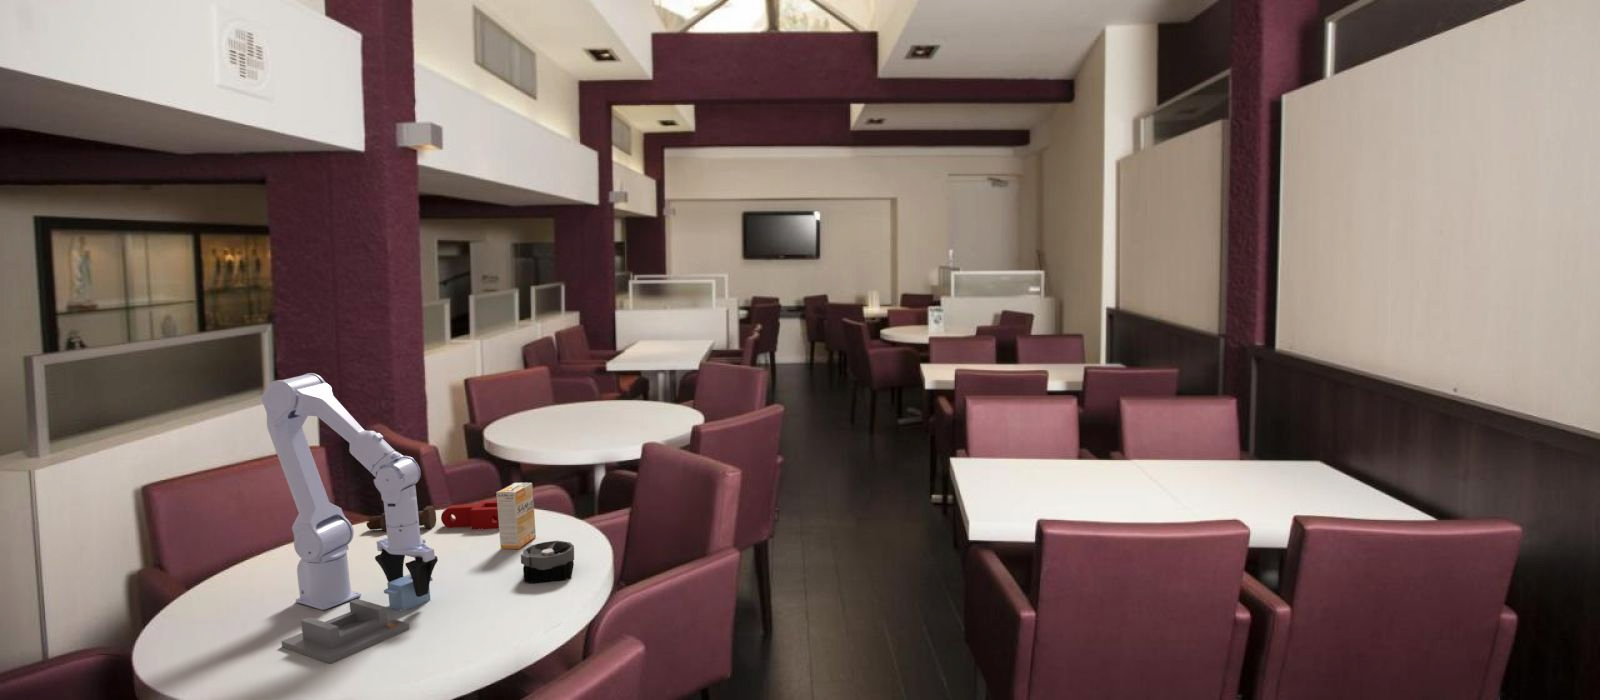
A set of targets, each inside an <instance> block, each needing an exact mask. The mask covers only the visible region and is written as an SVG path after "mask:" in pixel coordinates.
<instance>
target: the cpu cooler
mask: <svg viewBox="0 0 1600 700" xmlns="http://www.w3.org/2000/svg"><path fill="white" fill-rule="evenodd" d="M522 552H523V553H522V554H520V564H522V565H523V568H522V571H523V582H525V583H528V584H536V582H537V584H538V583H541V582H542V583H549V582H552V581H553V582H560V581H565V580H567V579H572V576H573V570H574V567H573V566H575V564H574V562H575V546H574V544H573V543H572V542H569V541H563V540H552V541H543V542H539V543H536V544H530V545H529V546H527V547H526V548H525V549H523V550H522ZM566 578H567V579H566ZM551 580H552V581H551Z"/></svg>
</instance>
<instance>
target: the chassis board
mask: <svg viewBox="0 0 1600 700" xmlns="http://www.w3.org/2000/svg"><path fill="white" fill-rule="evenodd" d="M348 603H349V610H350V611H348V612H347V613H343V614H340V615H339V616H336V617H333V618H331V619H328V620H326V621H323V620H319V619H316V618H314V617H310V616H309V617H306V618H304V619H301V620H300V623H301V631H302V632H299V634H296V635H294V636H291V637H288V638H286V639H283V640H281V641H280V642H281V647H282V648H284V649H288V650H290V651H293V652H297V653H299V654H302V655H304V656H307V657H310V658H313V659H316V660H319V661H321V662H324V663H326V664H333V663H335V662H337V661H339V660H341V659H344V658H346V657H348V656H350V655H353V654H355V653H357V652H359V651H362V650H364V649H367V648H369V647H371V646H373V645H375V644H377V643H380V642H382V641H385V640H387V639H390V638H391V637H394V636H396V635H398V634H401V633H402V632H405V631H408V630H410V624H409V622H405V621H402V620H399V619H395V618H392V617H389V616H388V614H387V612H388V611H387V607H386V606H384V605H380V604H376V603H373V602H369V601H366V600H363V599H360V598H354V599H352V600H349V601H348Z"/></svg>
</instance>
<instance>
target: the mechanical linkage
mask: <svg viewBox="0 0 1600 700" xmlns="http://www.w3.org/2000/svg"><path fill="white" fill-rule="evenodd" d="M452 515H453V516H454V517H453V516H452ZM440 521H441V523H442V524H443V525H444V526H445V527H447V528H448V529H449V528H471V530H473V531H477V530H499V520H498V507H497V500H482V501H479V502H478V503H473V504H470V503H469V504H452V505H449V506H448V507H447V508H446V509H444V510H443V511H442V513H441V516H440Z"/></svg>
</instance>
